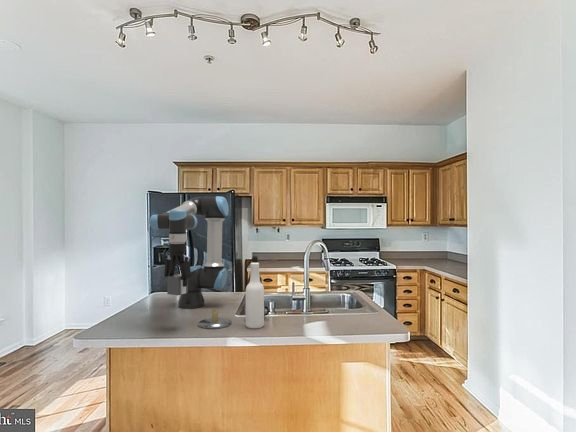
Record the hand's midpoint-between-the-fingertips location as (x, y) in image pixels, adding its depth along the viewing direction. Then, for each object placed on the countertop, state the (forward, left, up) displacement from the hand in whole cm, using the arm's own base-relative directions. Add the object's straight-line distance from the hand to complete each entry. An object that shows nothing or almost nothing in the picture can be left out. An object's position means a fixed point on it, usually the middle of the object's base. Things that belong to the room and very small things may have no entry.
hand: (177, 292), depth 170 cm
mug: (+10, +38, -17) cm, 43 cm away
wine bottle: (-12, +51, -17) cm, 56 cm away
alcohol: (+19, +30, -17) cm, 40 cm away
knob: (0, 0, 0) cm, 0 cm away
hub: (+4, +17, -17) cm, 24 cm away
